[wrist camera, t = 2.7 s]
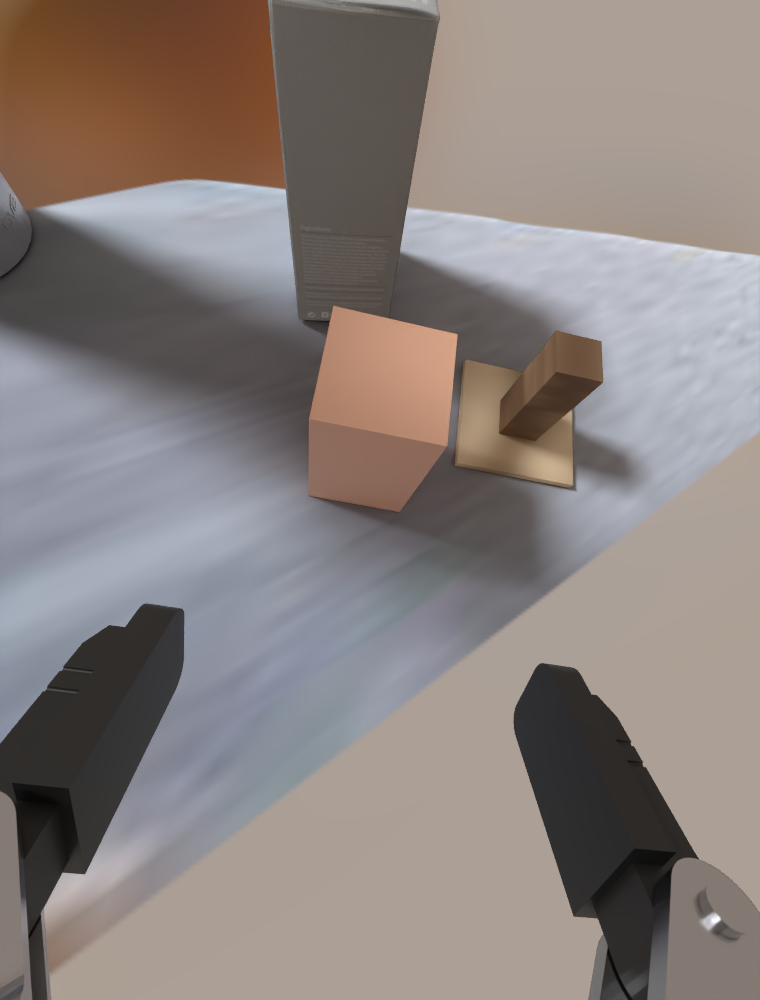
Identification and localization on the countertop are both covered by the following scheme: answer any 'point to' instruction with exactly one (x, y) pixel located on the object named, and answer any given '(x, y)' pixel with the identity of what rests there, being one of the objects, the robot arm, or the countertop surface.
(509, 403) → the wooden peg stand
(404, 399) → the tan rectangular prism
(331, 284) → the skincare box
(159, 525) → the countertop surface
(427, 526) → the countertop surface
